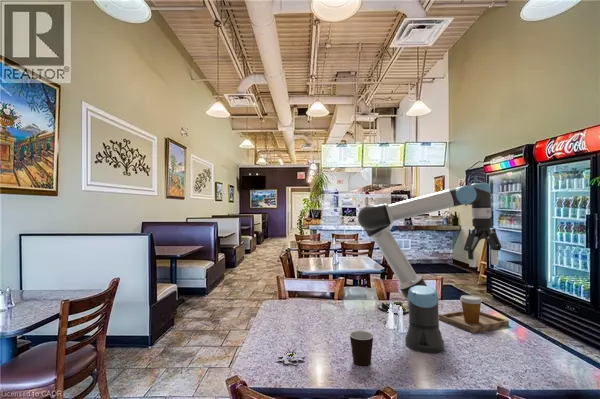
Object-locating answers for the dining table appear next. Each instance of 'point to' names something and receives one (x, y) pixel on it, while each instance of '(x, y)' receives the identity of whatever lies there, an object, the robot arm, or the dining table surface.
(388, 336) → the dining table surface
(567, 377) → the dining table surface
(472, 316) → the disposable coffee cup
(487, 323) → the serving tray
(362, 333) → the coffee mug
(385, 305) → the salad plate
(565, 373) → the dining table surface
